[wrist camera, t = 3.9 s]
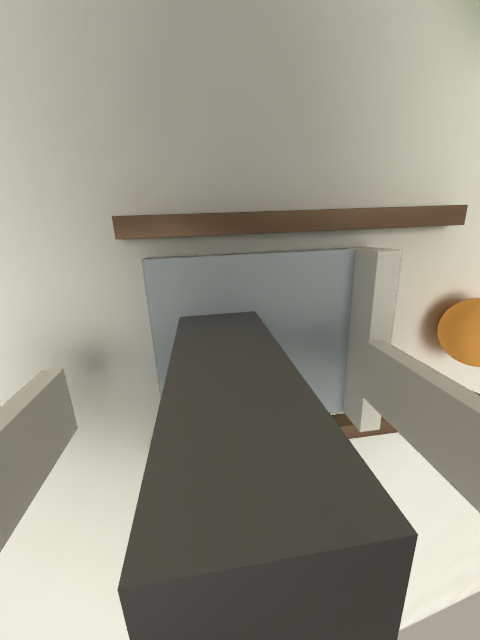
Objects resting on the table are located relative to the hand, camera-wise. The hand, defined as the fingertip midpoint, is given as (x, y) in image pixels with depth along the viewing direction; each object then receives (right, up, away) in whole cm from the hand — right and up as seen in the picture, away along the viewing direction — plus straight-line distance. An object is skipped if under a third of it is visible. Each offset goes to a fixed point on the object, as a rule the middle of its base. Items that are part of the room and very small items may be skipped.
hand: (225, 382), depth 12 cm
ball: (+14, +3, +6) cm, 16 cm away
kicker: (+1, +2, +5) cm, 5 cm away
